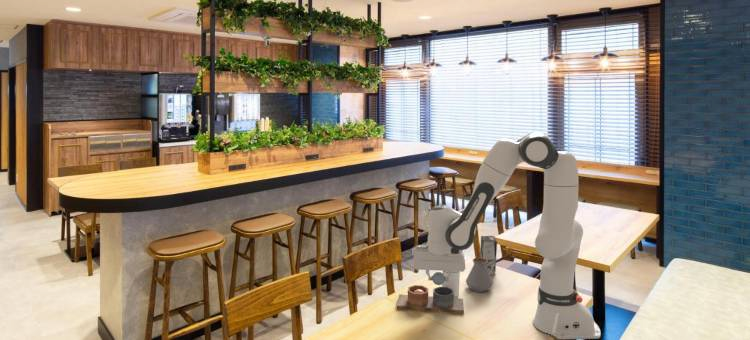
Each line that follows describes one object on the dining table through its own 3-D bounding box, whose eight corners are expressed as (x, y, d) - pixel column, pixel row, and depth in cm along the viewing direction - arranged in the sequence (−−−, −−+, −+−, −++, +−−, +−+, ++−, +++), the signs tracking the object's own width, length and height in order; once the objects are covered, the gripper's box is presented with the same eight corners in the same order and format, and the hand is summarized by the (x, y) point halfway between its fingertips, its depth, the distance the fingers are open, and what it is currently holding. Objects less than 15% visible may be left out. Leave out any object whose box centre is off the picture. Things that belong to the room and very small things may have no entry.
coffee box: (495, 275, 209) (497, 241, 207) (481, 274, 210) (483, 241, 207) (492, 267, 218) (494, 235, 215) (479, 267, 219) (480, 235, 216)
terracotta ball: (424, 299, 182) (426, 288, 181) (423, 305, 177) (425, 294, 176) (412, 297, 183) (413, 285, 182) (411, 303, 178) (413, 291, 177)
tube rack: (463, 302, 182) (463, 287, 181) (463, 314, 173) (464, 298, 172) (399, 297, 186) (399, 283, 185) (396, 309, 177) (396, 293, 176)
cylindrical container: (458, 290, 193) (460, 234, 189) (459, 297, 186) (461, 240, 182) (441, 289, 194) (442, 234, 190) (442, 297, 187) (443, 239, 183)
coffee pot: (472, 295, 189) (473, 261, 186) (461, 283, 200) (462, 251, 197) (518, 290, 193) (520, 257, 190) (506, 280, 204) (507, 248, 201)
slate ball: (444, 282, 177) (445, 270, 176) (444, 287, 172) (445, 275, 172) (432, 281, 178) (432, 269, 177) (431, 286, 173) (432, 274, 172)
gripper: (411, 248, 171) (411, 282, 173) (466, 250, 168) (465, 285, 170) (412, 242, 177) (412, 275, 179) (465, 244, 174) (464, 278, 177)
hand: (438, 280), depth 175 cm, fingers closed on slate ball, 5 cm apart
